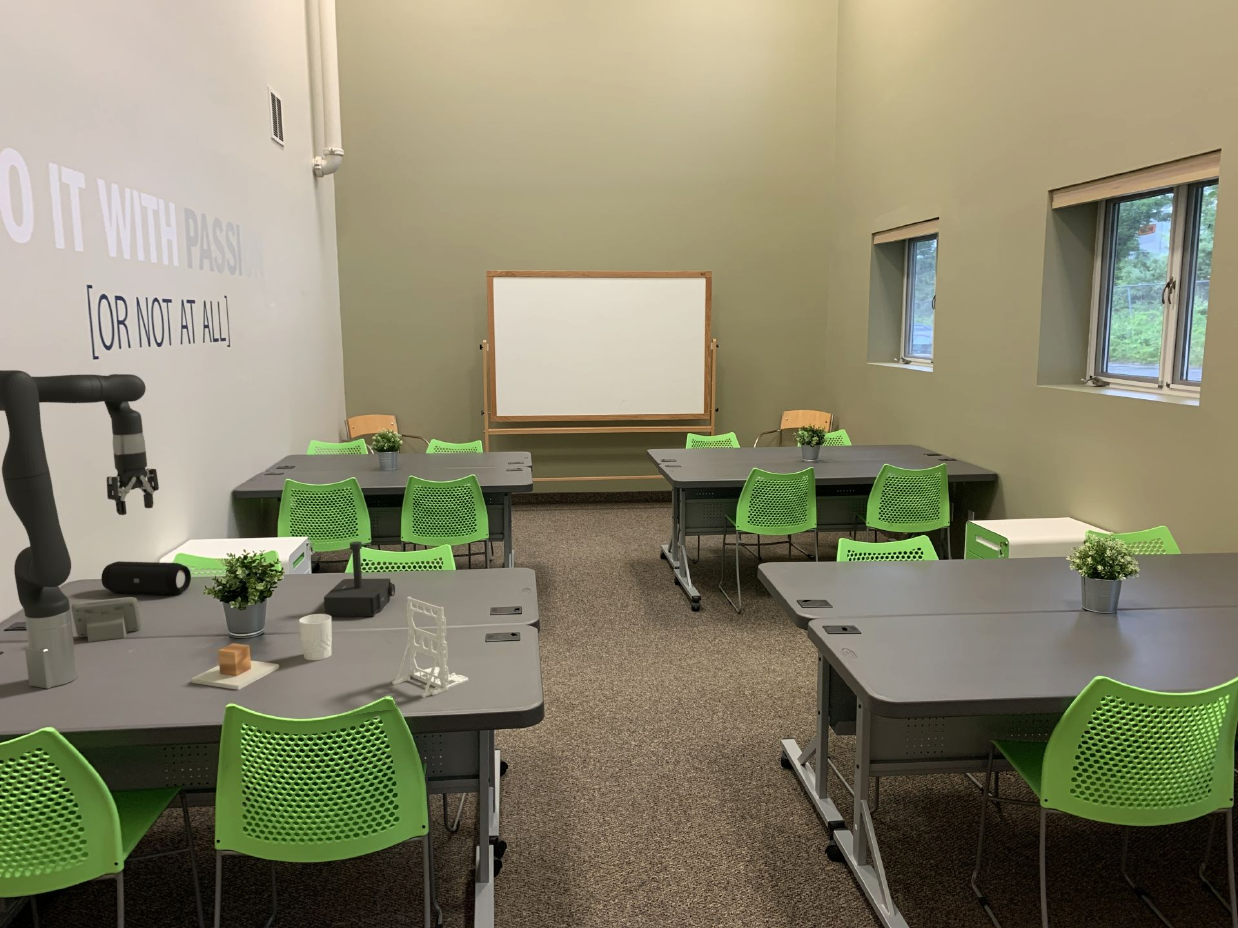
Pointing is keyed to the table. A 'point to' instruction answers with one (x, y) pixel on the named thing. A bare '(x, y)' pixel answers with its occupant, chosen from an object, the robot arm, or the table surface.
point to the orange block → (234, 659)
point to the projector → (358, 592)
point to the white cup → (316, 636)
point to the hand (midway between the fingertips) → (135, 511)
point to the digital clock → (106, 618)
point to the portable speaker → (146, 577)
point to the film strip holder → (428, 652)
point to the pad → (235, 682)
